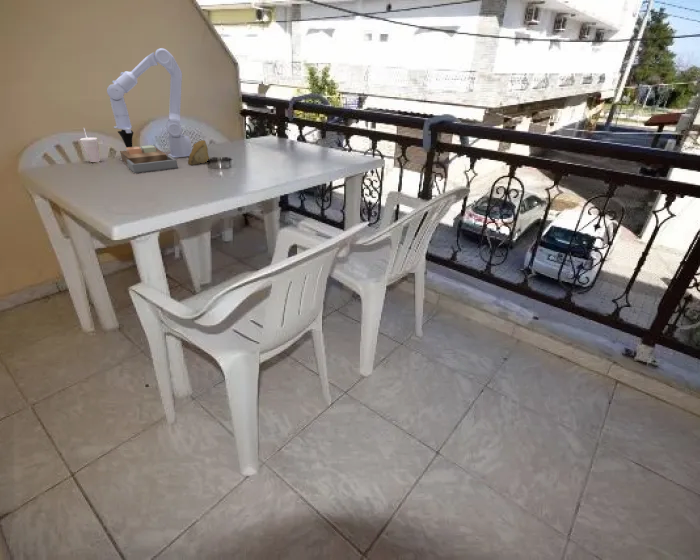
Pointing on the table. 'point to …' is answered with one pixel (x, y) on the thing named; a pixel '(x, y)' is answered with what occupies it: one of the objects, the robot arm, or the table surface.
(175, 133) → the robot arm
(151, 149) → the sage tile
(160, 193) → the table surface
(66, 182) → the table surface
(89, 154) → the smoothie
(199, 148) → the rock
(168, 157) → the box
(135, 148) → the terracotta tile
